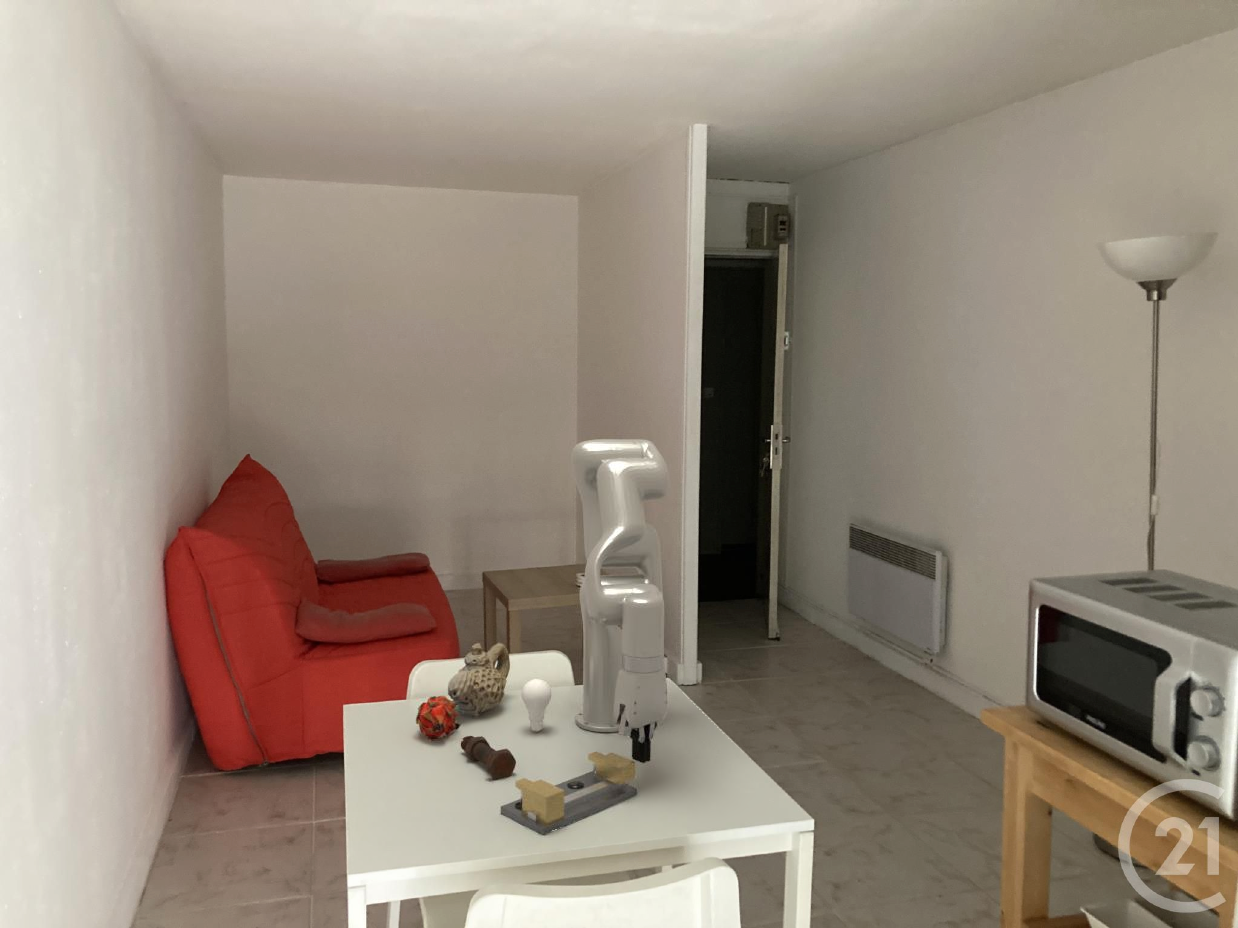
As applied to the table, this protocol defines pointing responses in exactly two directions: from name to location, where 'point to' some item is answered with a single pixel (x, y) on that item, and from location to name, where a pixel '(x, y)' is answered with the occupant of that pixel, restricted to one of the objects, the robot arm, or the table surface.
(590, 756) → the block
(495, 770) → the bolt
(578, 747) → the table surface
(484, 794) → the table surface
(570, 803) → the hole plate
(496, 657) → the teapot
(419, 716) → the dragon fruit
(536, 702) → the lightbulb
